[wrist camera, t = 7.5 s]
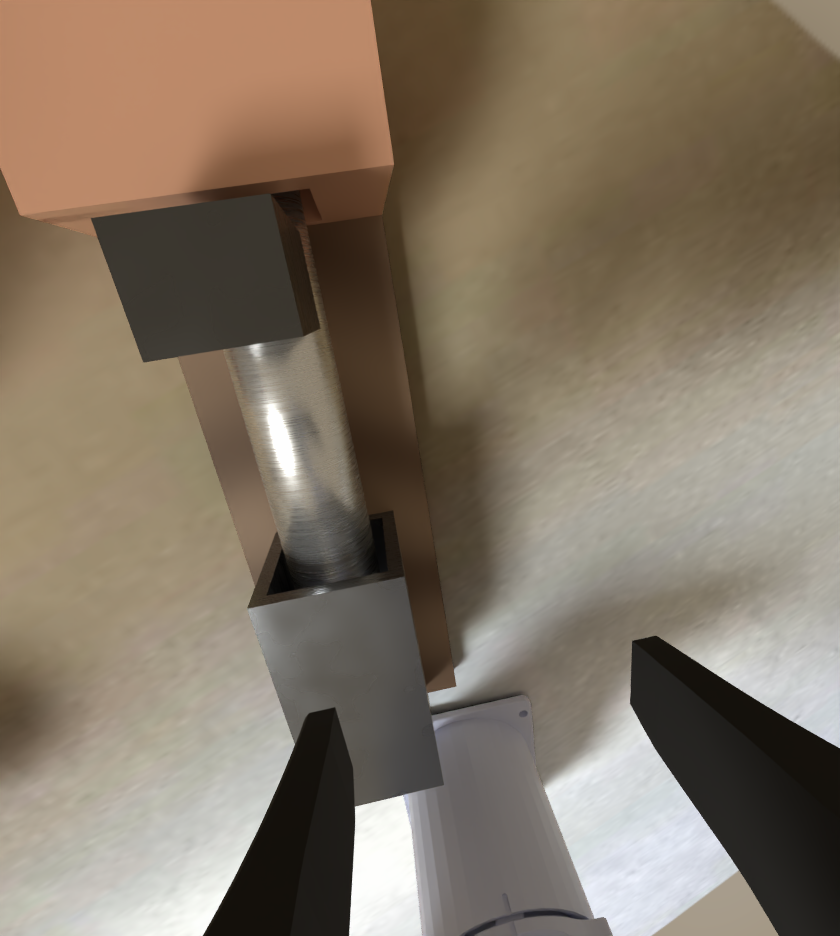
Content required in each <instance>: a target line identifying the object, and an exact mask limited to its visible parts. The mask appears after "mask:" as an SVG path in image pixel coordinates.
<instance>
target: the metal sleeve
mask: <svg viewBox="0 0 840 936" xmlns="http://www.w3.org/2000/svg"><path fill="white" fill-rule="evenodd" d="M368 517H369V521H370V526H371V531H372V535H373V540H374V545H375V549H376V554H377V559H378V564H379V568H380V573H377V574H372V575H367V576H362V577H357V578H352V579H347V580H342V581H337V582H332V583H327V584H322V585H317V586H312V587H307V588H303V589H298V590H295V588H294V585H293V582H292V578H291V575H290V572H289V568H288V565H287V562H286V558H285V555H284V552H283V548H282V545H281V542H280V538H279V535H278V533H275V536H274V539H273V541H272V544H271V547H270V549H269V552H268V555H267V557H266V560H265V563H264V565H263V568H262V571H261V573H260V576H259V579H258V581H257V584H256V587H255V589H254V592H253V595H252V597H251V600H250V603H249V605H248V608H247V610H248V613H249V615H250V618H251V621H252V624H253V627H254V630H255V632H256V635H257V638H258V641H259V644H260V647H261V649H262V652H263V655H264V658H265V661H266V664H267V666H268V669H269V672H270V675H271V678H272V681H273V683H274V686H275V689H276V692H277V695H278V698H279V700H280V703H281V706H282V709H283V712H284V714H285V717H286V720H287V723H288V726H289V729H290V731H291V734H292V737H293V740H294V743H295V744H296V741H297V739H298V736H299V733H300V731H301V728H302V725H303V722H304V719H305V717H306V716H307V715H308V714H309V713H311V712H316V711H320V710H325V709H329V708H334V707H335V708H336V711H337V715H338V718H339V722H340V725H341V728H342V732H343V735H344V739H345V742H346V745H347V749H348V752H349V756H350V759H351V762H352V766H353V774H354V799H355V806H359V805H363V804H367V803H372V802H376V801H380V800H384V799H388V798H392V797H397V796H401V795H405V794H409V793H413V792H417V791H422V790H426V789H430V788H434V787H438V786H443V785H444V781H443V776H442V770H441V765H440V759H439V754H438V748H437V742H436V737H435V731H434V726H433V720H432V714H431V709H430V703H429V698H428V692H427V687H426V681H425V676H424V671H423V665H422V660H421V655H420V650H419V644H418V639H417V634H416V628H415V623H414V618H413V613H412V607H411V602H410V597H409V591H408V586H407V581H406V576H405V570H404V565H403V560H402V554H401V549H400V544H399V539H398V533H397V528H396V523H395V518H394V512H393V510H392V511H387V512H382V513H377V514H371V515H368Z"/></svg>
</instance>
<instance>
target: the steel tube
mask: <svg viewBox="0 0 840 936" xmlns="http://www.w3.org/2000/svg"><path fill="white" fill-rule="evenodd" d="M91 221H92V223H93V226H94V229H95V232H96V234H97V237H98V240H99V242H100V245H101V248H102V251H103V253H104V256H105V259H106V262H107V264H108V267H109V270H110V272H111V275H112V278H113V281H114V283H115V286H116V289H117V292H118V294H119V297H120V300H121V302H122V305H123V308H124V311H125V313H126V316H127V319H128V322H129V324H130V327H131V330H132V332H133V335H134V338H135V341H136V343H137V346H138V349H139V352H140V354H141V357H142V360H143V362H149V361H155V360H161V359H168V358H174V357H180V356H186V355H192V354H199V353H205V352H211V351H217V350H223V352H224V355H225V358H226V362H227V365H228V368H229V372H230V375H231V378H232V382H233V385H234V388H235V392H236V395H237V398H238V402H239V405H240V408H241V412H242V415H243V418H244V422H245V425H246V428H247V432H248V435H249V438H250V442H251V445H252V448H253V452H254V455H255V458H256V462H257V465H258V468H259V472H260V475H261V478H262V482H263V485H264V488H265V492H266V495H267V498H268V502H269V505H270V508H271V512H272V515H273V518H274V522H275V525H276V528H277V532H278V535H279V538H280V542H281V545H282V548H283V552H284V555H285V558H286V562H287V565H288V568H289V572H290V575H291V578H292V582H293V585H294V588H295V590H298V589H303V588H307V587H312V586H317V585H322V584H327V583H332V582H337V581H342V580H347V579H352V578H357V577H362V576H367V575H372V574H377V573H380V568H379V564H378V559H377V554H376V549H375V545H374V540H373V535H372V531H371V526H370V521H369V517H368V512H367V507H366V502H365V498H364V493H363V488H362V484H361V479H360V474H359V470H358V465H357V460H356V455H355V451H354V446H353V441H352V437H351V432H350V427H349V423H348V418H347V413H346V409H345V404H344V399H343V394H342V390H341V385H340V380H339V376H338V371H337V366H336V362H335V357H334V352H333V347H332V343H331V338H330V333H329V329H328V324H327V319H326V315H325V310H324V305H323V301H322V296H321V291H320V286H319V282H318V277H317V272H316V268H315V263H314V258H313V254H312V249H311V244H310V239H309V235H308V230H307V225H306V221H305V216H304V211H303V207H302V202H301V197H300V192H299V190H295V191H288V192H280V193H273V194H270V193H269V194H262V195H254V196H247V197H240V198H233V199H225V200H218V201H211V202H203V203H196V204H189V205H182V206H174V207H167V208H160V209H153V210H145V211H138V212H131V213H124V214H116V215H109V216H102V217H95V218H91Z"/></svg>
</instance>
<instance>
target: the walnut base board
mask: <svg viewBox="0 0 840 936" xmlns="http://www.w3.org/2000/svg"><path fill="white" fill-rule="evenodd" d="M307 230H308V235H309V239H310V244H311V249H312V254H313V258H314V263H315V268H316V272H317V277H318V282H319V286H320V291H321V296H322V301H323V305H324V310H325V315H326V319H327V324H328V329H329V333H330V338H331V343H332V347H333V352H334V357H335V362H336V366H337V371H338V376H339V380H340V385H341V390H342V394H343V399H344V404H345V409H346V413H347V418H348V423H349V427H350V432H351V437H352V441H353V446H354V451H355V455H356V460H357V465H358V470H359V474H360V479H361V484H362V488H363V493H364V498H365V502H366V507H367V512H368V515H371V514H377V513H382V512H387V511H392V510H393V512H394V518H395V523H396V528H397V533H398V539H399V544H400V549H401V554H402V560H403V565H404V570H405V576H406V581H407V586H408V591H409V597H410V602H411V607H412V613H413V618H414V623H415V628H416V634H417V639H418V644H419V650H420V655H421V660H422V665H423V671H424V676H425V681H426V687H427V692H428V693H429V692H433V691H438V690H442V689H447V688H451V687H456V682H455V675H454V669H453V663H452V656H451V650H450V644H449V637H448V631H447V624H446V618H445V612H444V605H443V599H442V593H441V586H440V580H439V574H438V567H437V561H436V555H435V548H434V542H433V535H432V529H431V523H430V516H429V510H428V504H427V497H426V491H425V485H424V478H423V472H422V465H421V459H420V453H419V446H418V440H417V434H416V427H415V421H414V415H413V408H412V402H411V396H410V389H409V383H408V376H407V370H406V364H405V357H404V351H403V345H402V338H401V332H400V326H399V319H398V313H397V307H396V300H395V294H394V287H393V281H392V275H391V268H390V262H389V256H388V249H387V243H386V237H385V230H384V224H383V217H382V215H378V216H371V217H364V218H357V219H350V220H343V221H336V222H329V223H322V224H315V225H308V226H307ZM178 359H179V362H180V365H181V368H182V371H183V374H184V377H185V380H186V383H187V386H188V389H189V392H190V395H191V398H192V401H193V404H194V407H195V409H196V412H197V415H198V418H199V421H200V424H201V427H202V430H203V433H204V436H205V439H206V442H207V445H208V448H209V451H210V454H211V457H212V460H213V463H214V466H215V469H216V472H217V475H218V478H219V481H220V483H221V486H222V489H223V492H224V495H225V498H226V501H227V504H228V507H229V510H230V513H231V516H232V519H233V522H234V525H235V528H236V531H237V534H238V537H239V540H240V543H241V546H242V549H243V552H244V555H245V558H246V560H247V563H248V566H249V569H250V572H251V575H252V578H253V581H254V584H255V587H256V584H257V581H258V579H259V576H260V573H261V571H262V568H263V565H264V563H265V560H266V557H267V555H268V552H269V549H270V547H271V544H272V541H273V539H274V536H275V533H278V532H277V528H276V525H275V522H274V518H273V515H272V512H271V508H270V505H269V502H268V498H267V495H266V492H265V488H264V485H263V482H262V478H261V475H260V472H259V468H258V465H257V462H256V458H255V455H254V452H253V448H252V445H251V442H250V438H249V435H248V432H247V428H246V425H245V422H244V418H243V415H242V412H241V408H240V405H239V402H238V398H237V395H236V392H235V388H234V385H233V382H232V378H231V375H230V372H229V368H228V365H227V362H226V358H225V355H224V352H223V350H217V351H211V352H205V353H199V354H192V355H186V356H180V357H178Z"/></svg>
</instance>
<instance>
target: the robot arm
mask: <svg viewBox="0 0 840 936" xmlns="http://www.w3.org/2000/svg"><path fill="white" fill-rule="evenodd" d="M630 704H631V706H632V708H633V710H634V711H635V713H636V715H637V717H638V719H639V721H640V723H641V724H642V726H643V728H644V730H645V732H646V733H647V735H648V737H649V739H650V740H651V742H652V744H653V746H654V748H655V749H656V751H657V752H658V754H659V755H660V757H661V758H662V760H663V761H664V762H665V764H666V765H667V767H668V768H669V770H670V771H671V773H672V774H673V775H674V777H675V778H676V780H677V781H678V783H679V784H680V786H681V787H682V788H683V790H684V791H685V793H686V794H687V796H688V797H689V799H690V800H691V801H692V803H693V804H694V806H695V807H696V809H697V810H698V811H699V813H700V814H701V816H702V817H703V819H704V820H705V821H706V823H707V824H708V826H709V827H710V829H711V830H712V831H713V833H714V834H715V836H716V837H717V839H718V840H719V841H720V843H721V844H722V846H723V847H724V849H725V850H726V851H727V853H728V854H729V856H730V857H731V859H732V860H733V862H734V863H735V865H736V866H737V868H738V869H739V871H740V872H741V874H742V875H743V877H744V878H745V880H746V882H747V883H748V885H749V886H750V888H751V890H752V891H753V893H754V895H755V896H756V898H757V900H758V901H759V903H760V905H761V906H762V908H763V910H764V911H765V913H766V915H767V916H768V918H769V920H770V921H771V923H772V925H773V926H774V928H775V930H776V932H777V933H778V935H779V936H840V748H838V747H836V746H835V745H833V744H831V743H829V742H827V741H825V740H824V739H822V738H820V737H818V736H817V735H815V734H813V733H811V732H810V731H808V730H806V729H804V728H803V727H801V726H799V725H797V724H796V723H794V722H792V721H790V720H789V719H787V718H785V717H784V716H782V715H780V714H779V713H777V712H775V711H774V710H772V709H770V708H769V707H767V706H765V705H764V704H762V703H760V702H759V701H757V700H755V699H754V698H752V697H751V696H749V695H747V694H746V693H744V692H743V691H741V690H739V689H738V688H736V687H735V686H733V685H732V684H730V683H728V682H727V681H725V680H724V679H722V678H721V677H719V676H718V675H716V674H714V673H713V672H711V671H710V670H708V669H707V668H705V667H704V666H702V665H701V664H699V663H698V662H696V661H694V660H693V659H691V658H690V657H688V656H687V655H685V654H684V653H682V652H681V651H679V650H678V649H676V648H675V647H673V646H672V645H670V644H668V643H667V642H665V641H664V640H662V639H661V638H659V637H657V636H652V637H648V638H643V639H639V640H634V641H632V665H631V697H630ZM432 720H433V726H434V731H435V737H436V742H437V748H438V754H439V759H440V765H441V770H442V776H443V781H444V785H443V786H438V787H434V788H430V789H426V790H422V791H417V792H413V793H409V794H405V795H403V797H404V801H405V805H406V809H407V813H408V817H409V821H410V825H411V830H412V839H413V849H414V859H415V869H416V879H417V889H418V899H419V909H420V919H421V929H422V936H613V935H612V932H611V930H610V927H609V925H608V922H607V920H606V918H604V917H601V918H597V919H594V916H593V913H592V911H591V908H590V906H589V903H588V901H587V898H586V895H585V893H584V890H583V888H582V885H581V882H580V880H579V877H578V875H577V872H576V870H575V867H574V864H573V862H572V859H571V857H570V854H569V851H568V849H567V846H566V844H565V841H564V839H563V836H562V833H561V831H560V828H559V826H558V823H557V820H556V818H555V815H554V813H553V810H552V808H551V805H550V802H549V800H548V797H547V795H546V792H545V789H544V787H543V784H542V782H541V779H540V777H539V774H538V771H537V769H536V760H535V747H534V734H533V721H532V709H531V703H530V700H529V698H528V697H527V696H524V695H519V696H515V697H511V698H506V699H502V700H497V701H493V702H489V703H484V704H480V705H475V706H471V707H467V708H462V709H458V710H453V711H449V712H445V713H440V714H436V715H432ZM354 835H355V799H354V774H353V766H352V762H351V759H350V756H349V752H348V749H347V745H346V742H345V739H344V735H343V732H342V728H341V725H340V722H339V718H338V715H337V711H336V708H335V707H334V708H329V709H325V710H320V711H316V712H311V713H309V714H308V715H307V716H306V717H305V719H304V722H303V725H302V728H301V731H300V733H299V736H298V739H297V741H296V744H295V746H294V749H293V752H292V754H291V757H290V759H289V761H288V764H287V766H286V769H285V771H284V773H283V776H282V778H281V781H280V783H279V785H278V787H277V790H276V792H275V794H274V796H273V799H272V801H271V803H270V805H269V808H268V810H267V812H266V814H265V816H264V819H263V821H262V823H261V825H260V827H259V829H258V831H257V834H256V836H255V838H254V840H253V842H252V844H251V846H250V848H249V850H248V852H247V854H246V856H245V858H244V860H243V862H242V864H241V866H240V868H239V870H238V872H237V874H236V876H235V878H234V880H233V882H232V884H231V885H230V887H229V889H228V891H227V893H226V895H225V897H224V899H223V900H222V902H221V904H220V906H219V908H218V910H217V912H216V913H215V915H214V917H213V919H212V921H211V922H210V924H209V926H208V928H207V929H206V931H205V933H204V935H203V936H349V925H350V908H351V890H352V872H353V854H354Z"/></svg>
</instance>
